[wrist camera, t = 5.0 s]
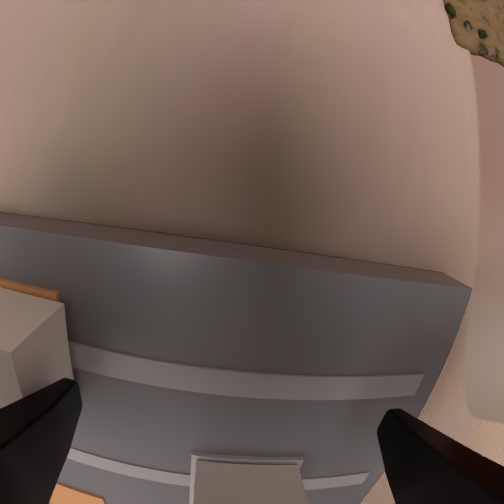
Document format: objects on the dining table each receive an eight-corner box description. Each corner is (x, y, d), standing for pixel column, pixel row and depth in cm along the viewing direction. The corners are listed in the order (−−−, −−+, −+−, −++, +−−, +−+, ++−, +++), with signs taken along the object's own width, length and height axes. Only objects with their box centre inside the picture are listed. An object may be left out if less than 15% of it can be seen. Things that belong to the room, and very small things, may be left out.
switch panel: (442, 272, 11) (475, 290, 9) (316, 525, 16) (322, 547, 13) (-26, 209, 9) (-60, 217, 7) (48, 489, 14) (39, 509, 11)
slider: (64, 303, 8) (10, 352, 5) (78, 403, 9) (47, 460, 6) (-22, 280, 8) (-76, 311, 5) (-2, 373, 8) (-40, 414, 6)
